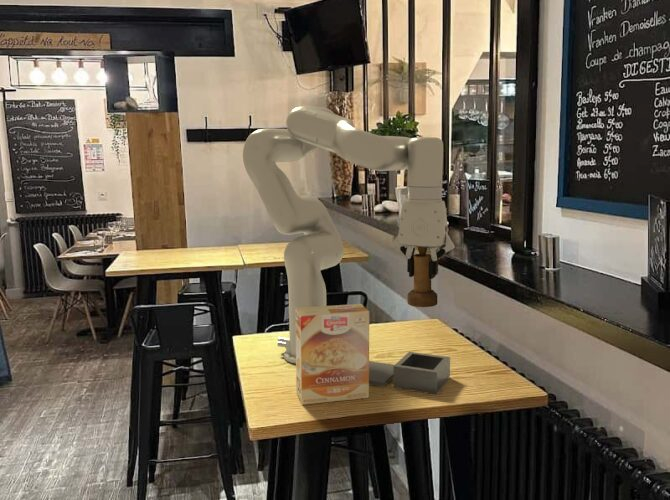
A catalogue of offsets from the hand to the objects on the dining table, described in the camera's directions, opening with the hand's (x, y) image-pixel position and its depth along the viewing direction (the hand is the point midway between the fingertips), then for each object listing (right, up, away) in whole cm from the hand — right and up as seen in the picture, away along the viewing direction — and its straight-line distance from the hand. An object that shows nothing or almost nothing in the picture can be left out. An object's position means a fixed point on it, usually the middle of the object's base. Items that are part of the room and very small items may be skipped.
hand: (422, 275), depth 140 cm
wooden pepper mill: (0, -7, +1) cm, 7 cm away
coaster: (-10, -24, +9) cm, 28 cm away
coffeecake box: (-20, -26, -3) cm, 33 cm away
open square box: (+1, -25, +4) cm, 25 cm away
